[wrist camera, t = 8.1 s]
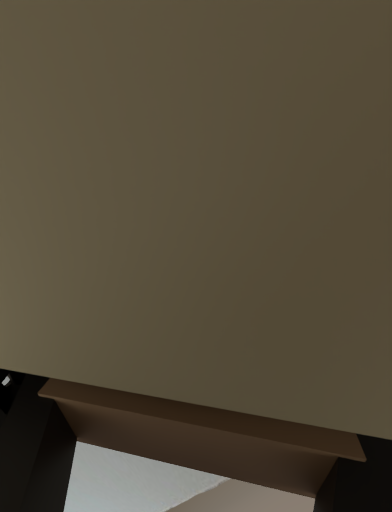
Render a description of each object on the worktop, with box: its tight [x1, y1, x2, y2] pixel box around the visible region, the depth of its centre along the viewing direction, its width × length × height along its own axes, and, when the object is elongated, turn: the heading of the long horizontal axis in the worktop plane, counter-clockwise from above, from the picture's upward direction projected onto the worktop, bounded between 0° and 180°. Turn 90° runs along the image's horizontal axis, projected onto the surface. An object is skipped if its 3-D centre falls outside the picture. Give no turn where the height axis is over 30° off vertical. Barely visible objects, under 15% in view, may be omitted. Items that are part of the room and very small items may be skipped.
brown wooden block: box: [38, 378, 367, 498], centre depth 11 cm, size 4×9×10 cm, turn 92°
